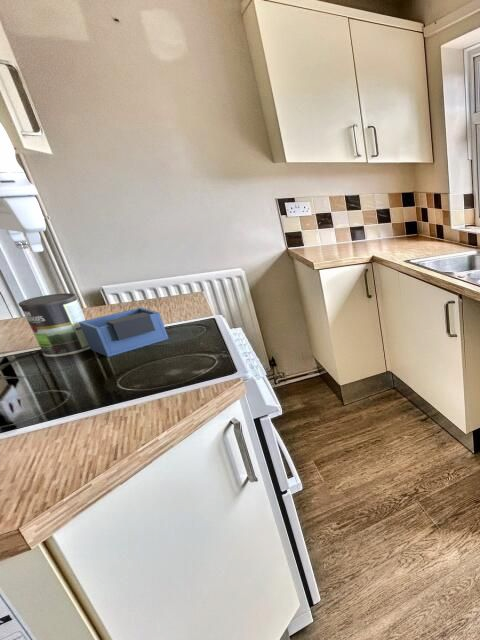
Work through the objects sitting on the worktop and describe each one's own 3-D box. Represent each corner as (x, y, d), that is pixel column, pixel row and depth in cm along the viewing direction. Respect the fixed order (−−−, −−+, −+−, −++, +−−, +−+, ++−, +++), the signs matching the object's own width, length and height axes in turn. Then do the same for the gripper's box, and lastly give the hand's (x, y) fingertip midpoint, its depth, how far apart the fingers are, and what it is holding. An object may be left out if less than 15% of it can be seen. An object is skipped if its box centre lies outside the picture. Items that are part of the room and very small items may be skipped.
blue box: (108, 357, 107) (96, 328, 104) (90, 349, 112) (78, 322, 109) (168, 338, 118) (159, 312, 115) (150, 332, 123) (141, 307, 120)
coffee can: (60, 359, 107) (34, 306, 101) (34, 354, 109) (8, 303, 104) (106, 343, 116) (85, 294, 110) (81, 340, 118) (59, 291, 113)
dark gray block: (119, 340, 108) (112, 323, 106) (112, 338, 109) (105, 321, 107) (155, 330, 114) (149, 314, 112) (148, 328, 116) (143, 312, 114)
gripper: (-34, 187, 95) (-4, 249, 100) (-5, 188, 86) (26, 256, 91) (6, 186, 100) (33, 244, 105) (38, 186, 91) (65, 251, 96)
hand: (30, 250), depth 98 cm, fingers open, 8 cm apart
